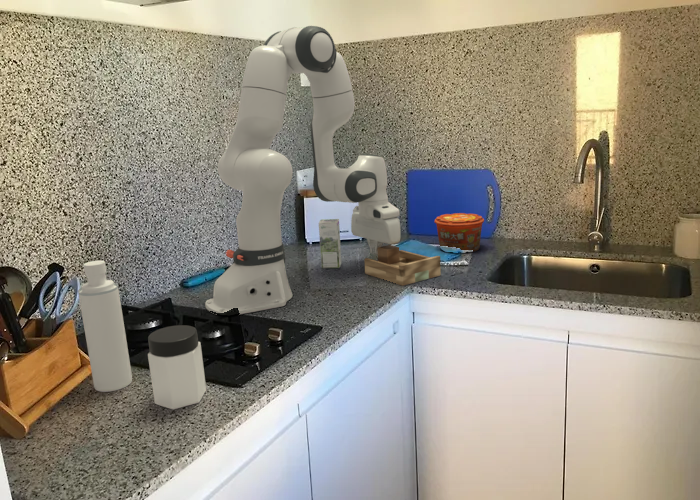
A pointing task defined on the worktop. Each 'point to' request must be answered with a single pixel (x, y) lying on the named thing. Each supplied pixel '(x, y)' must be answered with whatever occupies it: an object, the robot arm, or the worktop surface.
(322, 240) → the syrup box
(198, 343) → the jar
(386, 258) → the block
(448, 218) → the food container
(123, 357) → the white bottle
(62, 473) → the worktop surface
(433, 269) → the tray
